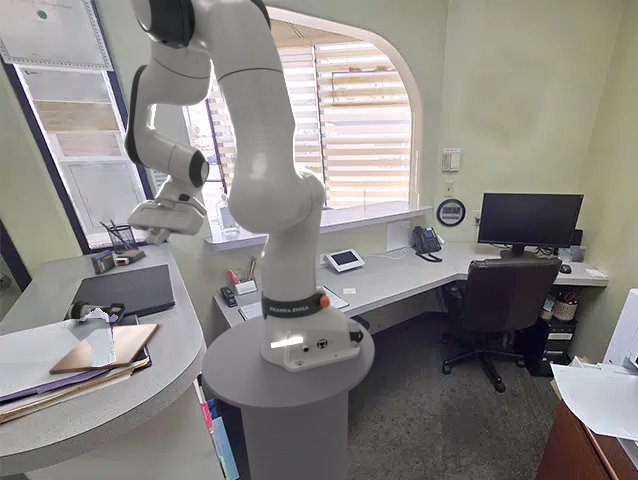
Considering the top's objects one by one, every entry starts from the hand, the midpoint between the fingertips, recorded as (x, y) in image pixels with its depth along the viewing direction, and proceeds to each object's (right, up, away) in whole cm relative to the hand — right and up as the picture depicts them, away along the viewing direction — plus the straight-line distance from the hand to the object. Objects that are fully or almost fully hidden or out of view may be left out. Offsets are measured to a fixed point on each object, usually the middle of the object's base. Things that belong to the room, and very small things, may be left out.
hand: (152, 244), depth 82 cm
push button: (-5, -18, -4) cm, 19 cm away
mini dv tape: (-36, -6, +27) cm, 45 cm away
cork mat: (+1, -24, -14) cm, 28 cm away
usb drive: (-36, -2, +37) cm, 52 cm away
